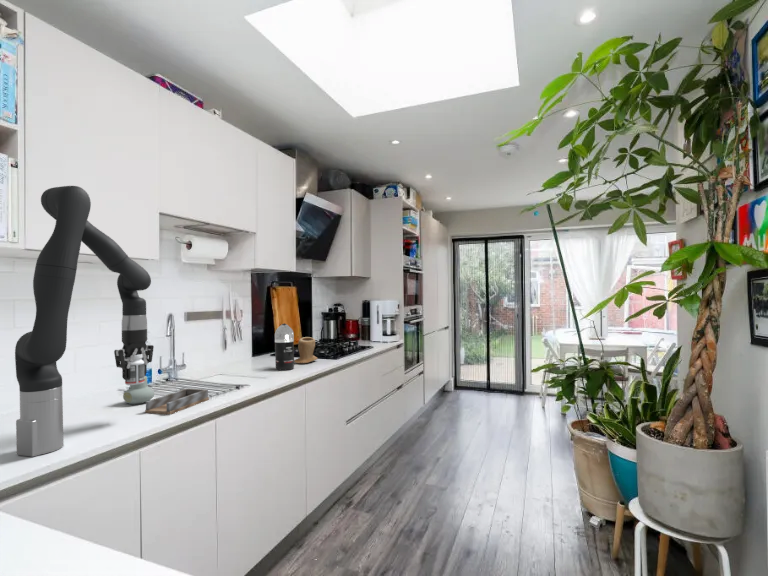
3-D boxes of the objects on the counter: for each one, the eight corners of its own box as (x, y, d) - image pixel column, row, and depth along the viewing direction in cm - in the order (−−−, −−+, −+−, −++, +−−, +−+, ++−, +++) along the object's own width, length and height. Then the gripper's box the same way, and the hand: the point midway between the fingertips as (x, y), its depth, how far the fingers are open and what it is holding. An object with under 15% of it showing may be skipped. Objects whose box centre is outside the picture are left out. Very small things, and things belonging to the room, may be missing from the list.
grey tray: (170, 414, 146) (170, 403, 146) (145, 412, 149) (145, 401, 149) (208, 399, 166) (208, 389, 166) (186, 398, 169) (185, 388, 169)
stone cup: (308, 365, 236) (307, 339, 237) (291, 364, 242) (290, 338, 242) (322, 360, 250) (322, 336, 250) (306, 359, 255) (306, 335, 255)
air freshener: (156, 401, 164) (156, 376, 164) (135, 407, 157) (134, 380, 157) (142, 398, 170) (142, 373, 170) (121, 403, 163) (120, 377, 163)
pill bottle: (140, 381, 145) (140, 352, 146) (147, 383, 142) (147, 354, 142) (122, 384, 141) (122, 354, 141) (128, 386, 137) (128, 356, 138)
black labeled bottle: (271, 369, 227) (270, 323, 227) (288, 366, 234) (287, 322, 234) (281, 371, 219) (280, 324, 219) (298, 368, 226) (297, 323, 226)
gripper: (124, 330, 134) (125, 382, 134) (160, 326, 148) (160, 374, 147) (106, 330, 136) (107, 381, 136) (143, 326, 150) (143, 373, 149)
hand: (134, 377), depth 142 cm, fingers closed on pill bottle, 5 cm apart
